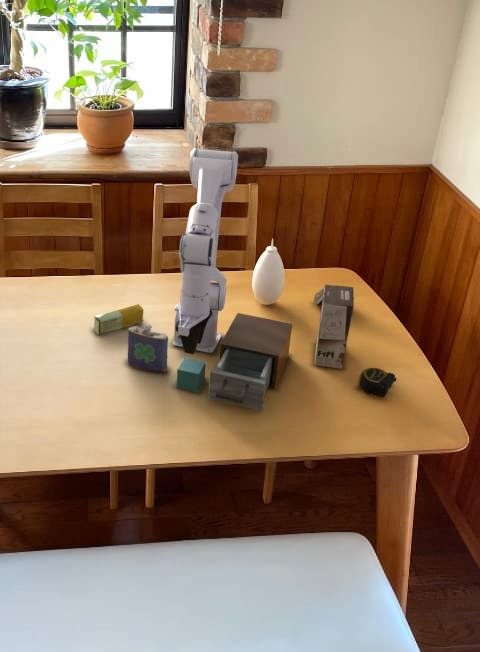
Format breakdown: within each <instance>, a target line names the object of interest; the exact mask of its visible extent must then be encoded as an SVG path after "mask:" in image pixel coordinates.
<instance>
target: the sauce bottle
mask: <svg viewBox="0 0 480 652" xmlns="http://www.w3.org/2000/svg"><path fill="white" fill-rule="evenodd" d="M270 243H271V244H270V245H269V246H267V247H266V248H265V250H264V252H263V253H262V254H261V255H260V257H259V259H258V260H257V262H256V264H255V267H254V269H253V274H252V280H251V281H252V282H251V283H252V284H251V286H252V287H251V288H252V292H253V295H254V298H255V299H256V301H258V302H259V304H262V305H264V306H269V305H273V303H277V301H278V300H279V298H280V297H281V296H282V293H283V290H284V286H285V279H286V278H285V277H286V276H285V267H284V264H283V261H282V258H281V255H280V254H279V252H278V248H277V247H276V246H274V237H272V239H271V242H270Z"/></svg>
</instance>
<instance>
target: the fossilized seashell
mask: <svg viewBox="0 0 480 652" xmlns="http://www.w3.org/2000/svg"><path fill="white" fill-rule="evenodd" d="M324 288H325V285H323V287H322V288H320V289H318V290H317V291H316V293H315V294H314V299H313V300H314V301H313V302H314V305H316V306H319V307H322V301H323V295H324Z"/></svg>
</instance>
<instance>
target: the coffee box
mask: <svg viewBox="0 0 480 652" xmlns="http://www.w3.org/2000/svg"><path fill="white" fill-rule="evenodd" d="M324 286H325V288H324V295H323V301H322V306H321V308H320V315H319V321H318V328H317V329H318V330H317V336H316V342H315V353H314V366H319V367H324V368H325V367H326V368H333V369H339V370H341V369H342V368H343V364H344V360H345V354H346V349H347V345H348V339H349V338H348V337H349V334H350V327H351V322H352V318H353V312H354V307H355V305H354V304H355V297H354V286H348V285H337V284H336V285H334V284H324Z"/></svg>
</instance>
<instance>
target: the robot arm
mask: <svg viewBox="0 0 480 652" xmlns="http://www.w3.org/2000/svg"><path fill="white" fill-rule="evenodd" d="M238 160H239V154H238V153H237V152H236V150H233V151H226V150H216V149H215V150H214V149H201V148H200V149H199V148H198V147H197V148H196V147H194V148H193V149H192V150H191V152H190V156H189V166H188V173H189V178H190V183H191V186H192V188H194V189H196V190H197V198H196V204H194V205H193V206H191V208H190V209H189V213H188V218H187V219H188V220H187V222H186V223H187V224H186V229H185V234H184V235H182V236H181V238H180V241H179V242H180V243H179V262H180V272H181V282H180V283H181V284H180V293H179V303H177V304H176V305H175V307H174V311H175V315H174V333H173V342H172V345H173V346H175V347H180V348H182V349H183V352H184V353H185V354H189V355H195V353H196V351H198V352H203V353H206V354H207V353H208V354H213V353H214V351H215V350H216V348H217V346H218V344H219V342H220V340H221V338H222V336H223V335H222V334H221V333H218V322H219V320H218V319H219V312H222V311H223V310H224V309H225V304H226V295H227V278H226V275H225V274H224V273H223V272H222V271H220V270H219V269H218V267H216V264H217V256H218V244H219V236H220V235H219V234H220V226H221V225H220V224H221V213H222V203H223V200H224V199H225V198H224V197H225V195H226V193H229V192H232V191H234V189H235V186H236V179H237V174H238V163H239V161H238ZM212 281H213V282H212Z"/></svg>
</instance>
